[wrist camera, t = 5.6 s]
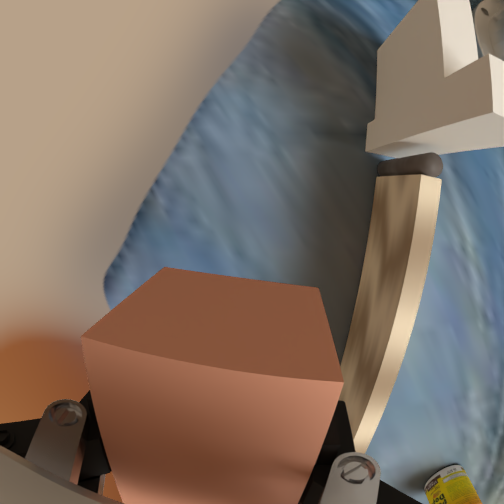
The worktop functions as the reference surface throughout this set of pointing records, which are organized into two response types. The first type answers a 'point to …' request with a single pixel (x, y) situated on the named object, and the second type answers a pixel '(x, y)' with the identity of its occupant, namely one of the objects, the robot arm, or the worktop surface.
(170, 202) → the worktop surface
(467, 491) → the supplement bottle
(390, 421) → the worktop surface
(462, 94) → the wall frame
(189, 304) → the salmon orange block
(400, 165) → the gate door
